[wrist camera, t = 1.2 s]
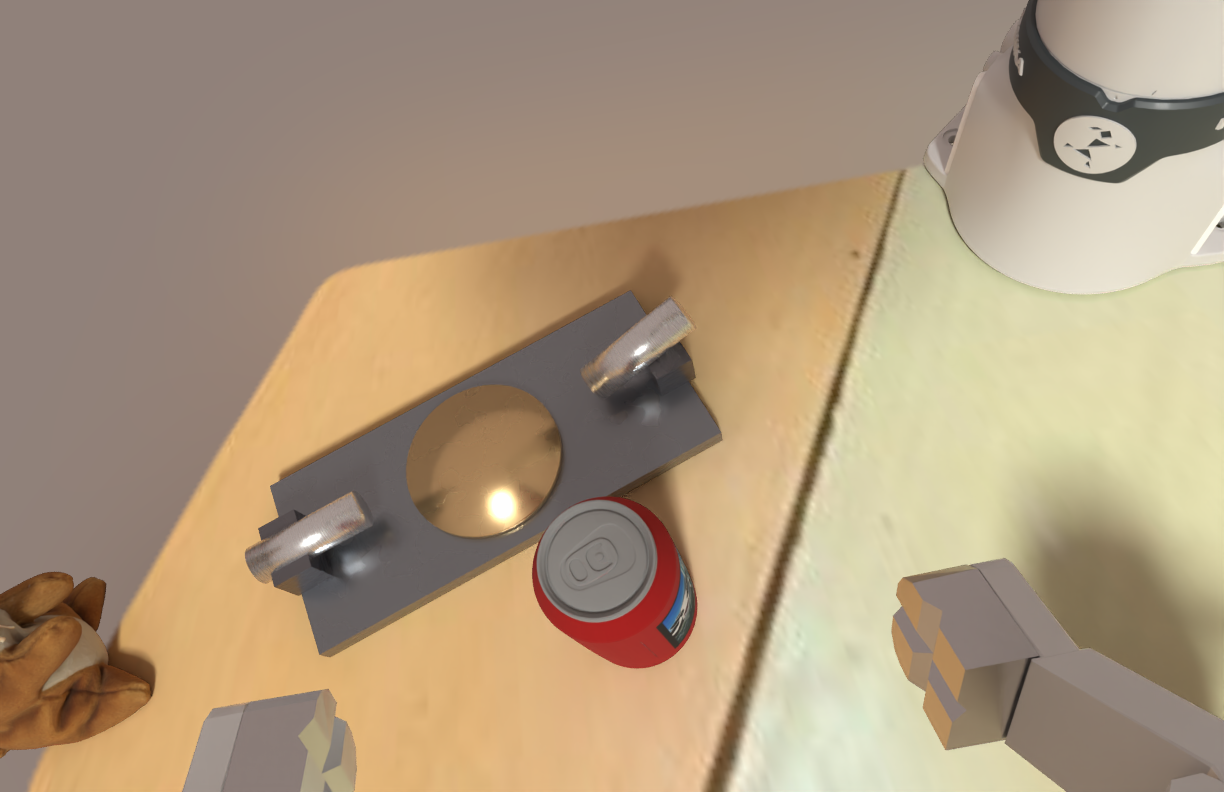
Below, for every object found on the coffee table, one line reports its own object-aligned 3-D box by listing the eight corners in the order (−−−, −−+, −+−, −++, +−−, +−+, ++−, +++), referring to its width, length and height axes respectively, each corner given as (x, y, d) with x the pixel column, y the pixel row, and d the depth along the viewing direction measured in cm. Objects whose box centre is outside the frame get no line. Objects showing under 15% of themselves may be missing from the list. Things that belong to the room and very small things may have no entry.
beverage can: (722, 629, 44) (702, 583, 33) (617, 694, 44) (563, 669, 33) (660, 528, 47) (624, 457, 36) (562, 588, 47) (496, 534, 36)
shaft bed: (655, 287, 54) (639, 227, 48) (746, 426, 49) (741, 378, 43) (266, 499, 53) (201, 464, 47) (315, 665, 48) (247, 650, 42)
